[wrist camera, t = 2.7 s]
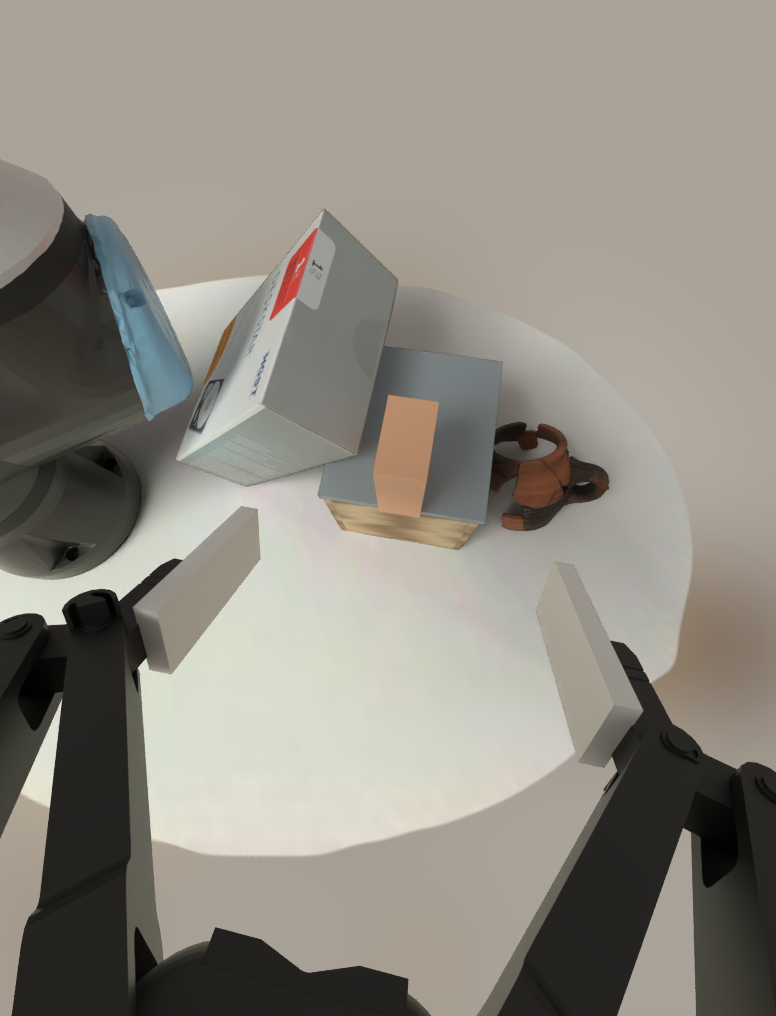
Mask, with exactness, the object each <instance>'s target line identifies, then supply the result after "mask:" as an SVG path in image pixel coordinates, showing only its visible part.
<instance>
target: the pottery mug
mask: <svg viewBox="0 0 776 1016" xmlns="http://www.w3.org/2000/svg"><path fill="white" fill-rule="evenodd" d="M526 426H527V424H526V423H523V422H517V423H511V424H507V425H504V426H501V427H499V428H497V429H496V430H495V438H494V445H496V444H498V443H500V442H505V441H518V443H519V445H520V447H521V449H522V450H528V449H534V448H536V447H537V446H538V442H537V437H538V438H542V439H546V440H548V441H551V442H553V443H554V444H556V445H557V448H556V450H555V451H554V452H552V453H551V454H549V455H548V456H546V457H543V458H541V459H536V460H528V461H518V460H512V459H508V458H505V457H503V456H501V455H499V454H498V453H496V451H495V450H494V449H493V457H492V467H491V476H490V485H489V487H490V488H491V489H492V490H493V491H495V492H498V491H499V489H500V487H501V485H502V484H504V483H505V482H507V481H508V480H510V479H512V478H514V477H516V476H517V480H516V485H515V489H514V492H513V497H514V500H515V501H516V503H519V504H521V505H523V507H522V509H523V513H524V514H523V516H520V515H511V514H507V513H504V514H503V515H502V526H503V527H504V528H507V529H509V530H515V531H530V530H536V529H538V528H541V527H543V526H545V525H547V524H548V523H549V522H550V521H551V520H552V518H553V517H554V516H555V515H556V514H557V512H558V511H559V510H560V509H561V508H562V507H563V506H564V505H568V504H571V503H583V502H589V501H593V500H595V499H598V498H599V497H601V496H602V495H603V494H604V493H605V491H606V490H608V489H609V486H608V484H609V479H608V474H607V473H606V471H605V470H604V469H602V468H601V467H599V466H597V465H594V464H590V463H585V462H581V461H579V460H577V459H575V458H574V457H569V455H568V454H569V451H568V450H567V441H566V438H565V437H564V435H563V434H562V433H561V432H560V431H559V430H557V429H556V428H554V427H551V426H549V425H546V424H539V425H538V431H532V430H529V431H525V429H526ZM580 482H590V483H588V484H586V485H582V486H579V485H576V484H577V483H580Z"/></svg>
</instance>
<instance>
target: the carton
mask: <svg viewBox="0 0 776 1016" xmlns="http://www.w3.org/2000/svg"><path fill="white" fill-rule="evenodd" d="M324 501H325V503H326V505H327V506H328V508H329V510H330V511H331V513H332V515H333V516H334V518H335V520H336V521H337V523H338V525H339V526H340V528H341V530H344V531H350V532H356V533H362V534H368V535H374V536H380V537H386V538H392V539H398V540H404V541H410V542H415V543H421V544H427V545H433V546H439V547H445V548H451V549H457V550H459V549H460V547H461V546H462V545H463V544H464V543H465V541H466V540H467V539H468V538H469V536H470V535H471V534H472V533H473V532H474V530H475V529H476V528H477V527H478V525H479V524H475V523H469V522H463V521H457V520H451V519H445V518H438V517H432V516H426V515H420V517H419V518H417V517H410V516H404V515H398V514H392V513H386V512H380V511H379V508H377V507H371V506H364V505H358V504H352V503H346V502H340V501H334V500H327V499H324Z"/></svg>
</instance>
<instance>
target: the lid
mask: <svg viewBox="0 0 776 1016" xmlns="http://www.w3.org/2000/svg"><path fill="white" fill-rule="evenodd" d="M502 363H503V362H502V361H494V360H487V359H479V358H471V357H464V356H456V355H448V354H440V353H433V352H425V351H417V350H410V349H402V348H394V347H387V346H384V347H383V351H382V355H381V359H380V364H379V368H378V372H377V376H376V380H375V385H374V389H373V393H372V398H371V402H370V407H369V411H368V415H367V419H366V424H365V428H364V432H363V436H362V441H361V445H360V448H359V452H358V454H357V455H354V456H350V457H347V458H344V459H340V460H336V461H333V462H330V463H326V464H325V467H324V471H323V475H322V479H321V483H320V487H319V491H318V496H319V498H321V499H327V500H334V501H340V502H346V503H352V504H358V505H364V506H371V507H377V508H379V511H380V512H386V513H392V514H398V515H404V516H410V517H417V518H419V517H420V515H426V516H432V517H438V518H445V519H451V520H457V521H463V522H469V523H475V524H482V525H483V524H484V523H485V522H486V514H487V504H488V495H489V485H490V476H491V467H492V457H493V448H494V438H495V429H496V420H497V410H498V401H499V391H500V382H501V373H502Z"/></svg>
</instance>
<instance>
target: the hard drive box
mask: <svg viewBox="0 0 776 1016" xmlns="http://www.w3.org/2000/svg"><path fill="white" fill-rule="evenodd" d="M397 286H398V280H397V278H396V277H395V276H394V275H393V274H392V273H391V272H390V271H389V270H388V269H387V268H386V267H385V266H383V264H382V263H381V262H380V261H379V260H378V259H376V257H374V256H373V255H372V254H371V253H370V252H369V251H368V250H367V249H366V248H365V247H364V246H363V245H362V244H361V243H360V242H359V241H358V240H357V239H356V238H355V237H354V236H353V235H352V234H351V233H350V232H349V231H348V230H347V229H346V228H345V227H344V226H342V224H341V223H340V222H339V221H338V220H337V219H336V218H335V217H333V216H332V215H331V214H330V213H329V212H328V211H327V210H326V209H324V208H323V209H322V210H321V213H320V214H319V215H318V216H317V218H316V219H315V220H314V221H313V222H312V224H311V225H310V226H309V227H308V229H307V230H306V231H305V232H304V234H303V235H302V236H301V237H300V239H299V240H298V241H297V242H296V244H295V245H294V246H293V247H292V248H291V250H290V251H289V252H288V253H287V255H286V256H285V257H284V258H283V259H282V261H281V262H280V263H279V264H278V266H277V267H276V268H275V269H274V270H273V272H272V273H271V274H270V275H269V276H268V278H267V279H266V280H265V281H264V283H263V284H262V285H261V286H260V287H259V289H258V290H257V291H256V292H255V293H254V295H253V296H252V297H251V298H250V299H249V301H248V302H247V303H246V304H245V305H244V307H243V308H242V309H241V310H240V312H239V313H238V314H237V315H236V316H235V318H234V319H233V320H232V321H231V323H230V324H229V325H228V327H227V328H226V329H225V330H224V332H223V335H222V337H221V340H220V342H219V345H218V348H217V351H216V353H215V355H214V358H213V361H212V364H211V366H210V369H209V372H208V374H207V377H206V379H205V382H204V385H203V388H202V390H201V393H200V395H199V398H198V401H197V404H196V406H195V409H194V411H193V414H192V416H191V419H190V421H189V424H188V427H187V430H186V432H185V435H184V438H183V441H182V443H181V446H180V449H179V451H178V454H177V457H176V460H177V461H180V462H182V463H185V464H187V465H190V466H192V467H195V468H198V469H200V470H203V471H205V472H208V473H211V474H213V475H216V476H218V477H221V478H224V479H226V480H229V481H231V482H234V483H237V484H240V485H243V486H246V487H247V486H250V485H254V484H257V483H261V482H264V481H267V480H271V479H274V478H278V477H281V476H285V475H288V474H292V473H295V472H299V471H302V470H306V469H309V468H312V467H316V466H320V465H323V464H326V463H330V462H333V461H336V460H340V459H344V458H347V457H350V456H354V455H357V454H358V452H359V448H360V445H361V441H362V436H363V432H364V428H365V424H366V419H367V415H368V411H369V407H370V402H371V398H372V393H373V389H374V385H375V380H376V376H377V372H378V368H379V364H380V359H381V355H382V351H383V347H384V343H385V339H386V334H387V330H388V326H389V322H390V318H391V314H392V309H393V305H394V300H395V295H396V291H397Z"/></svg>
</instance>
